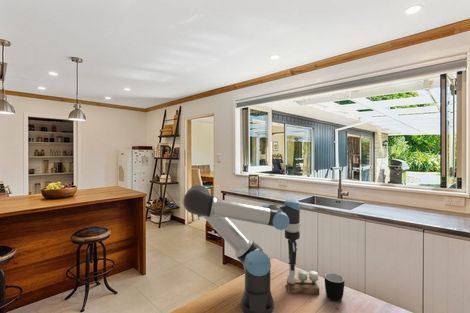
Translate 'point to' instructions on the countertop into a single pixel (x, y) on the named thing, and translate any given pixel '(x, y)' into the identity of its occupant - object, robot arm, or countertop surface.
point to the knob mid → (302, 276)
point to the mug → (334, 286)
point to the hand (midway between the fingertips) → (292, 275)
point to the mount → (303, 287)
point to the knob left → (291, 279)
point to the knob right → (313, 276)
